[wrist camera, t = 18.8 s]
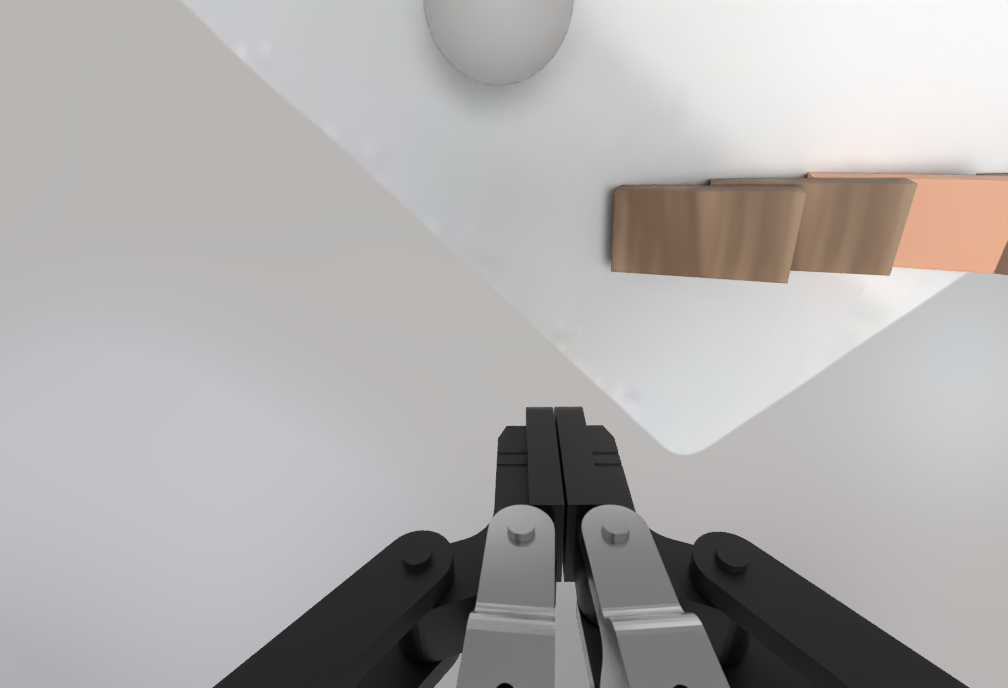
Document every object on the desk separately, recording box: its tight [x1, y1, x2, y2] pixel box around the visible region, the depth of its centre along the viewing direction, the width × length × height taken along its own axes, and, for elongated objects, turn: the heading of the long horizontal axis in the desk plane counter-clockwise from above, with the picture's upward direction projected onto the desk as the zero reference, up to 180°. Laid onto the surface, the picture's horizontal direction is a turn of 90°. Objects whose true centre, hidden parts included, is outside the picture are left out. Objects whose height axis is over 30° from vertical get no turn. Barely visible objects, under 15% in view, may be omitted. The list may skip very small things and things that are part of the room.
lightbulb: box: [424, 0, 573, 85], centre depth 22 cm, size 6×6×11 cm
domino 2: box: [710, 178, 917, 276], centre depth 29 cm, size 2×5×10 cm
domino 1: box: [611, 185, 807, 283], centre depth 29 cm, size 2×5×10 cm
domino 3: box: [807, 172, 1008, 273], centre depth 29 cm, size 2×5×10 cm
